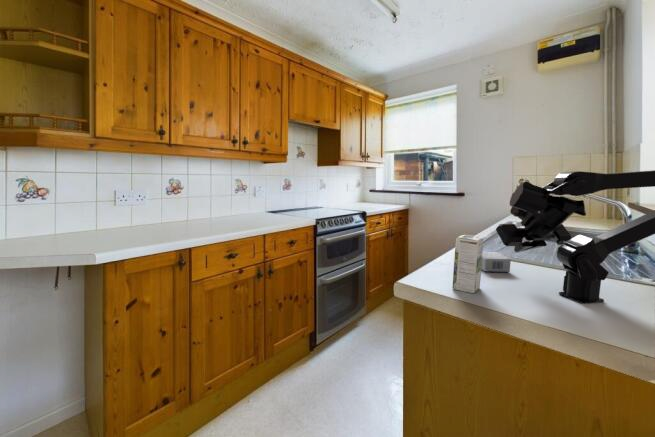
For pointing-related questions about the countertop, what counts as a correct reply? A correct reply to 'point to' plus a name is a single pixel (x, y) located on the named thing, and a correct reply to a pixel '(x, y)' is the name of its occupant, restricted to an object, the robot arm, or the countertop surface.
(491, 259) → the medicine box
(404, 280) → the countertop surface
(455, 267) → the syrup box
